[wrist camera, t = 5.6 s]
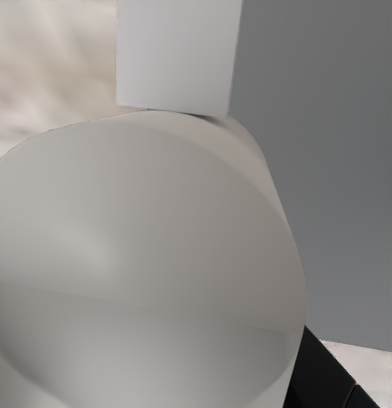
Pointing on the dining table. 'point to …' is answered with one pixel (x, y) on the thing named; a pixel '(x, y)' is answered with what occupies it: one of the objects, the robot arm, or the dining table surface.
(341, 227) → the rubber mat
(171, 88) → the white rounded piece
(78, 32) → the dining table surface
